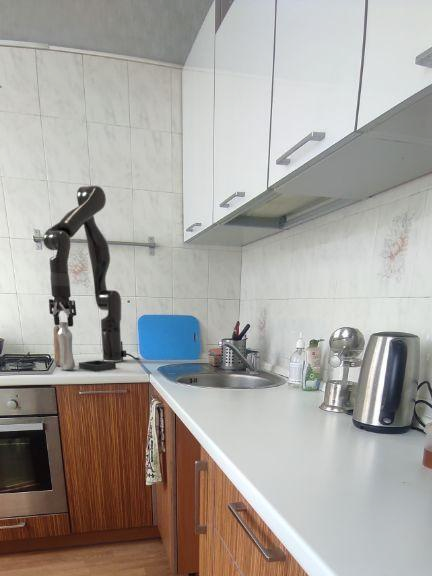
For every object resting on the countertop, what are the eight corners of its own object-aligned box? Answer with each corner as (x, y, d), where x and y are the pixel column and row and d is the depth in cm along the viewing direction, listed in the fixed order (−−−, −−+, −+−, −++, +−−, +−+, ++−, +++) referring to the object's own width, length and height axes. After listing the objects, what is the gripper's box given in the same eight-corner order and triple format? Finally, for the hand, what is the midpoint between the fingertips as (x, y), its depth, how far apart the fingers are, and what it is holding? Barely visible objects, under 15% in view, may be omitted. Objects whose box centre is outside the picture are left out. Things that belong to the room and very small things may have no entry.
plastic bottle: (61, 371, 202) (57, 323, 194) (58, 369, 207) (54, 321, 200) (76, 370, 205) (73, 323, 197) (73, 368, 210) (69, 321, 203)
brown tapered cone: (68, 366, 220) (54, 366, 217) (62, 326, 215) (48, 326, 212) (70, 365, 214) (57, 366, 212) (64, 324, 210) (50, 325, 207)
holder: (98, 365, 220) (98, 360, 219) (116, 368, 214) (115, 362, 213) (79, 368, 211) (78, 362, 210) (96, 371, 205) (96, 365, 204)
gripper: (79, 285, 192) (82, 326, 198) (56, 284, 200) (60, 324, 206) (64, 284, 187) (67, 327, 193) (41, 284, 194) (45, 325, 200)
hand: (63, 325), depth 199 cm, fingers open, 8 cm apart
